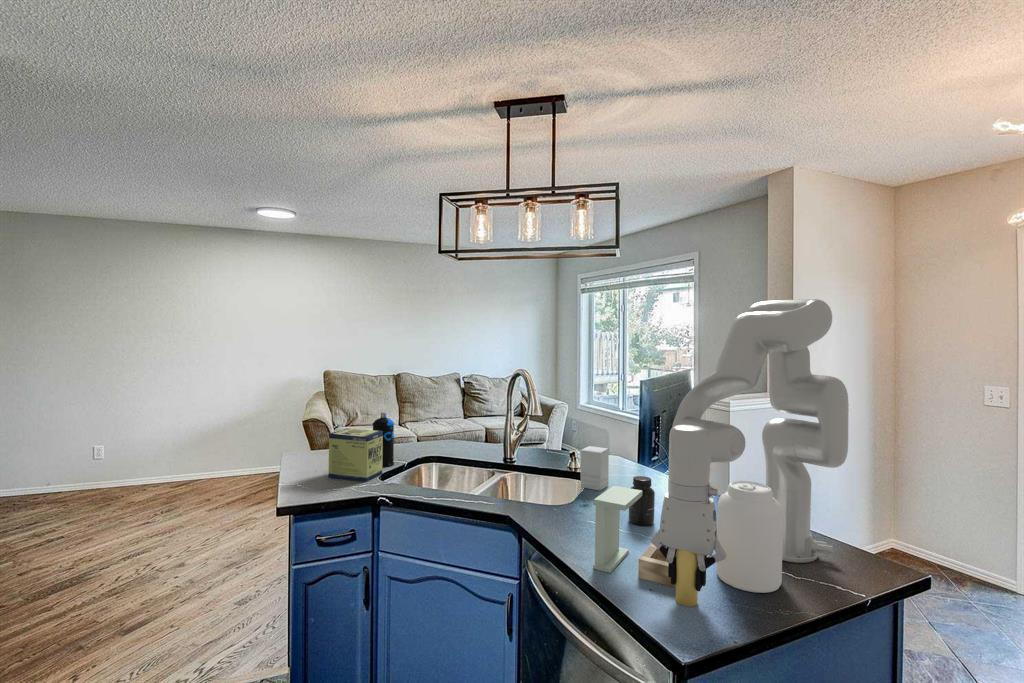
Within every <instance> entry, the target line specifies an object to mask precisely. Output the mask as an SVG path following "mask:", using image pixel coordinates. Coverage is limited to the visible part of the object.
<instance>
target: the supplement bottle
mask: <svg viewBox="0 0 1024 683" xmlns="http://www.w3.org/2000/svg"><path fill="white" fill-rule="evenodd" d="M632 485H633V486H631V487H630V488H631V489H636V490H642V496H641V497H640V498H639V499H638V500H637V501H636V502H635V503H634V504H632V505H631V506H630V507H629V508H628V521H629V523H631V524H633V525H636V526H641V527H649V526H652V525H653V524H654V523H655V507H656V506H655V503H656V502H655V501H656V493H655V490H654V489H653V487H652V478H651V477H649V476H645V475H636V476H633V479H632Z"/></svg>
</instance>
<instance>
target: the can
mask: <svg viewBox="0 0 1024 683" xmlns="http://www.w3.org/2000/svg"><path fill="white" fill-rule="evenodd" d="M717 539H718V541H719V543H720V544H721V546H722V548H723V549H724V551H725V553H726V558H725V559H724V560H722V561H719V562H716V574H717V576H718V578H719V579H720V581H721V582H724V583H725V584H726V585H729V586H731V587H733V588H735V589H739V590H741V591H746V592H750V593H751V592H752V593H763V594H765V593H772V592H775V591H777V590H779V588H780V587H781V585H782V584H783V582H782V581H783V580H782V579H783V576H782V575H783V560H782V546H783V512H782V508H781V505H780V503H779V502H778V501H777V500H776V499H775V498H774V497H773V492H772V490H771V488H770V487H768V486H766V484H764V483H759V482H756V481H748V480H737V481H732V482H730V483H728V486H727V491H725V492H724V493H723V494H721V495H720V496H719V498H718V502H717Z"/></svg>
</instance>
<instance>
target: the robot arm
mask: <svg viewBox="0 0 1024 683" xmlns="http://www.w3.org/2000/svg"><path fill="white" fill-rule="evenodd" d="M832 312H833V311H832V310H831V307H830V306H829V304H828V303H827V302H825V301H824V300H821V299H819V298H818V299H817V298H804V299H774V300H772V299H771V300H764V301H759V302H756V303H753V304H752V305H750V307H749V308H748V310H747V312H744V313H741V314H739V315H738V316H736V317H735V318H734V320H733V321H732V323H731V325H730V329H729V331H728V334H727V337H726V340H725V342H724V344H723V348H722V350H721V353H720V356H719V358H718V360H717V363H716V367H715V369H714V370H713V371H712V373H710V374H709V375H708V376H706V377H705V378H704V379H702V380H701V381H699V382H698V383H696V385H695V386H694V387H692V389H690V390H689V392H687V393H686V395H685V396H684V397H683V399H682V400H681V402H680V404H679V407H678V408H677V412H676V414H675V417H674V420H673V421H672V426H671V428H670V431H669V438H668V481H667V482H668V484H667V486H668V488H667V492H665V494H664V497H663V502H662V505H661V506H662V508H661V514H660V521H659V529H658V530H657V532H656V533H655V535H653V537H652V538H651V540H650V544H651V543H652V544H653V545H654V546H655V547H657V548H658V549H659V550H660V552H661V553H662V554H663V555H664V557H665V558H666V561H667V562H668V563H669V565H668V577H670V578H671V584H672V585H674V584H675V583H676V553H677V550H684V551H688V552H691V553H695V554H697V559H698V568H697V570H696V590H697V591H698V592H701V590H702V587H705V586H706V584H707V569H708V568H710V567H711V566H713V565H714V564H715V563H716V564H717V562H719V561H722V560H724V559H725V558H726V553H725V551H724V549H723V548H722V546H721V544H720V543H719V541H718V539H717V521H718V517H717V510H716V505H715V500H714V498H712V497H718V494H719V493H718V492H719V491H718V488H714V487H712V485H711V482H710V480H711V464H712V463H722V464H723V463H726V464H727V463H730V462H731V463H732V462H734V461H736V460H738V459H739V458H740V457H742V455H743V453H744V452H745V448H746V438H745V435H744V434H743V432H742V431H741V430H740V429H739V428H738V427H737V426H734V425H732V424H729V423H724V422H717V421H713V420H707V419H702V417H703V415H704V414H705V412H706V411H707V410H708V409H709V408H710V407H712V406H713V405H715V404H716V403H718V402H720V401H723V400H725V399H728V398H730V397H735V396H737V395H740V394H744V393H746V392H749V391H751V390H753V389H755V387H756V386H757V384H758V383H759V379H760V376H761V373H762V369H763V367H764V363H765V361H766V358H767V356H768V365H769V366H768V373H769V374H768V377H769V378H768V379H769V383H768V386H769V389H768V390H769V391H768V393H769V402H770V405H771V407H772V408H773V409H774V410H776V411H778V412H781V413H785V414H789V415H790V414H791V415H796V416H797V415H799V416H805V417H812V418H817V420H818V422H816V421H815V422H814V421H808V420H804V419H803V420H801V419H797V418H796V419H795V418H788V417H777V418H773V419H770V420H769V421H767V422H766V423H765V425H764V426H763V428H762V432H761V439H762V447H763V451H764V458H765V460H764V461H765V485H766V486H768V487H770V488H771V490H772V492H773V497H774V498H775V499H776V500H777V501H778V502H779V503H780V505H781V508H782V512H783V546H782V561H783V562H789V563H798V564H799V563H800V564H801V563H803V564H805V563H812V562H814V561H815V560H817V559H818V552H819V553H823V554H826V555H831V556H833V551H834V550H833V549H834V547H833V545H828V544H827V542H825V541H821V540H820V541H819V540H815V539H814V538H812V537H813V535H812V534H813V533H811V513H812V512H811V510H812V508H811V505H812V479H811V475H810V473H809V471H808V469H807V467H806V466H805V464H808V465H814V466H819V467H824V468H830V469H834V468H839V467H841V466H842V465H844V463H845V461H846V460H847V456H848V452H849V410H850V409H849V405H850V404H849V393H848V390H847V387H846V384H844V382H843V381H842V380H841V379H839V378H837V377H835V376H831V375H824V374H823V375H822V374H821V375H820V374H812V371H811V354H810V353H811V352H810V350H809V346H811V345H812V344H814V343H816V342H817V341H819V340H821V339H822V338H824V337H825V336H826V335H827V333H828V332H829V331H830V329H831V327H832V323H833V313H832ZM714 552H715V553H714ZM713 553H714V554H713Z"/></svg>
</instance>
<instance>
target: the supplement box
mask: <svg viewBox="0 0 1024 683" xmlns="http://www.w3.org/2000/svg"><path fill="white" fill-rule="evenodd" d="M609 451H610V450H609V448H607V447H599V446H593V445H592V446H590V445H589V446H586V447H584V448H582V449H580V488H583V489H584V488H585V489H589V490H595V491H598V492H599V491H602V490H604V489H606V488H607V487H608V486H609V468H610V467H609V464H610V462H609V457H610V456H609V454H610V453H609Z"/></svg>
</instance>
